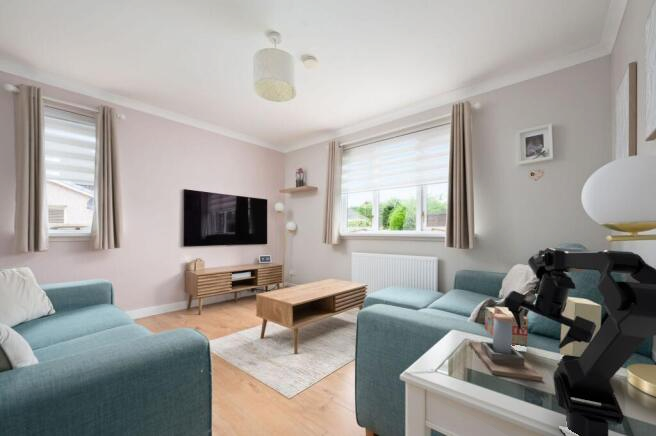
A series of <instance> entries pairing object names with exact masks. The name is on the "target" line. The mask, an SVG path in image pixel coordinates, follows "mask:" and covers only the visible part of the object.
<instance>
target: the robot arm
mask: <svg viewBox="0 0 656 436" xmlns="http://www.w3.org/2000/svg"><path fill="white" fill-rule="evenodd" d="M527 264H528V266H529V268H530V270H532V272H533V274H534V276H536V278H537V279H538V280H540V282H538V284H537V286H536V288H535V292H534V294H536V295H537V296H536V299H535V302H534V303H532V302H530V301H527V300H528V299H527V298H528V296H527V295H526V294H523V293H520V292H518V291H515V290H512V291H510V292H509V293H508V294H507V295H506V297H505V298H504V300H503V307H507V308H508V310H509V311H511V312H512V314H513V316H514V318H515V320H516V322H517V325H518V327H519V329H521V328H522V326H523V320H524V316H525V312H526V310H527V311H528V312H532V313H534V314H536V315H538V316H541V317H543V318H545V319H548V320H552V321H554V322H557V323H558V324H559V323H560V324H561V325H562V324H564V325H566V326H568V327H570V328H569V330H568V331H567V333H566V335H565V336H564V338H563V339H562V341H561V340H560V343H559V344H558V348H559V350H560V349H561V348H562V347H564V346H565V345H567V344H569V343H571V342H574V341H578V342H582V341H583V342H586V343H589V345H588V346H587V347H586V349H585V350H584V352H583V353H582V355H581V356H580V357H577V356H571V355H564V356H563V357H562V359H560V362H558V363H557V364H556V365H557V366H558V367H556V370H554V372H553V376H552V377H553V379H552V380H553V386H554V393H555V397H556V400H557V402H556V403H557V404H556V405H557V406H558V407H560V408H562V409H564V411H566V416H565V422H566V421H567V427H568V429H569V430H571V431H572V432H574V433H576V434H578V435H579V436H609V428H610V426H609V424H610V423H609V422H612V423H616V424H619V425H622V423H623V420H624V417H625V416H624V415H625V414H624V413H623V410H622V408H621V406H620V404H619V402H618V400H617V397H616V394H615V393H616V389H615V388H614V385H613V384H612V382H611V380H612V378H613V377H614V376H615V375H616V373H618V371H620V369H621V368H622V367H623V366H624V364H625V363H626V362H627V361H628V360H629V359H630V358H631V357H632V355H634V354H635V352H636V351H637V350H638V349H639V348H640V347H641V346H642V344H643V343H644V342H646V340H647V339H649V337H654V336H656V268H654V267H652V266H651V265H649V264H648V263H647V262H645V260H644V259H643V257H641V255H639V254H638V253H635V252H632V251H623V250H607V249H604V250H600V251H584V250H581V249H578V248H577V249H576V248H561V247H560V248H558V247H547V248H545V249H544V250H542V249H541V250H539V251H538V253H535V254H534V255H532V256H530V258H529V259H528V261H527ZM587 270H588V271H589V270H590V271H598V273H599V274H600V276H599V279H598V282H597V289H598V291H599V292H600V294H601V296H602V297H603V301H602V303H603V305H604V307H605V309H606V312H607V314H608V316H607V318H606V319H605V321H604V322H603V323H602V325H601V327H600V329H599V330H598V332H597V333H596V335H595V336H594V338H593V339H592V340H591V338H592V336H593V333H594V331H595V328H596V325H595V323H594V322H592V321H589V320H586V319H584V318H581V317H579V316H576V318H575V320H573V319H570V318H568V317H565V316H563V315H562V312H564V310H565V307H566V304H567V302H566V301H567V298H568V297H569V293H570V290H571V289H572V290H575V289H576V284H575V283H574V281H573V279H572V277H571V276H570V275H569V274H568V273H570V274H571V273H572V274H580V273H586V272H587ZM612 274H621V275H629V276H630V277H631V278H632V279H633V280H635V281H637V282H632V281H631V282H630V281H621V280H619V281H616V280H615V279H614V277H613V275H612ZM590 341H591V342H590ZM576 399H578V400H576ZM591 402H592V403H591ZM596 403H598V404H596Z"/></svg>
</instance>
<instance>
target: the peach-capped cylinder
mask: <svg viewBox="0 0 656 436" xmlns="http://www.w3.org/2000/svg"><path fill="white" fill-rule="evenodd" d="M512 321H513V318H512V317H510V316H507V315H503V314H494V331H493V335H492V343H493V352H494V353H502V354H510V355H511V343H512Z"/></svg>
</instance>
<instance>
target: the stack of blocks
mask: <svg viewBox="0 0 656 436" xmlns="http://www.w3.org/2000/svg"><path fill="white" fill-rule="evenodd" d="M484 310H485V311H484V328H485V330H486V331H487V332H488V331H489V332H488V333H490V335H491V336H493V331H494V314H503V315H507V316H510V317H512V318H513V321H512V343H511V345H512V346H515V345H520V346H525V347H527V348H528V336H529V335H528V334H529V332H528V331H529V318H528V317H526V316H525V315H524V320H523V326H522V328H521V329H519V327H518V325H517V322H516V320H515V318H514V316H513V314H512V312H511V311H509V310H508V308H507V307H505V306H494V307H484Z"/></svg>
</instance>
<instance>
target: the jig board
mask: <svg viewBox="0 0 656 436" xmlns="http://www.w3.org/2000/svg"><path fill="white" fill-rule="evenodd" d="M480 341H481V342H480ZM480 341H479V342H478V341H471V340H470V341H468V344H469V346H470V348H471V349H472V350H473V352H474V353H475V354H476V355H477V356H478V358H479V359H480V360H481V362H482V364H484V366H485V367H486V368H487V370H488V371H489V372H490V373H491V375H495V376H502V377H509V378H510V377H511V378H518V379H524V380H530V381H538V382H543V376H542V375H541V374H540V373H539V372H538V371H536V369H535V368H533V367H532V366H531V365H530V364H529V363H528V362H527V361H526V360H525V357H524V356H523V354H521V353H520V351H517V350H515V349H514V348H513V347H512V346H511V355H510V354H502V353H494V352H493V342H491V341H484V340H483V341H482V340H480Z"/></svg>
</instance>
